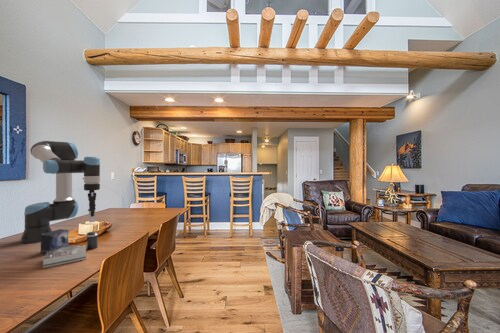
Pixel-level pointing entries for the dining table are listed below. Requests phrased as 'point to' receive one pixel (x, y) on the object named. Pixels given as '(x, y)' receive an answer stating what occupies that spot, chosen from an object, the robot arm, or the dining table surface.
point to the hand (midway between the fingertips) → (92, 219)
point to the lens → (92, 240)
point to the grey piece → (64, 255)
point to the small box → (54, 240)
